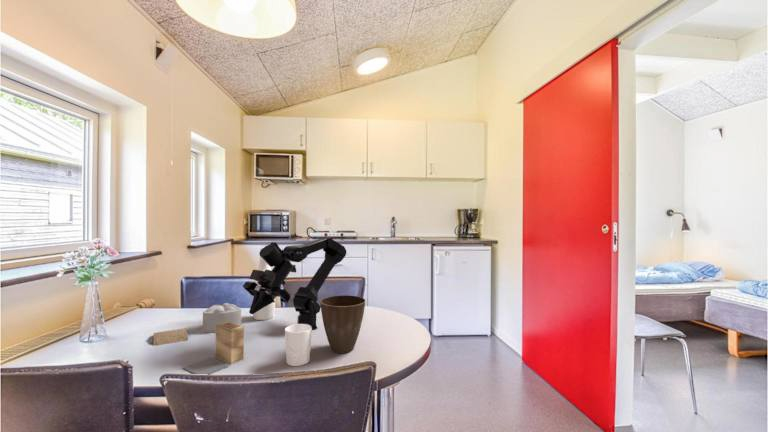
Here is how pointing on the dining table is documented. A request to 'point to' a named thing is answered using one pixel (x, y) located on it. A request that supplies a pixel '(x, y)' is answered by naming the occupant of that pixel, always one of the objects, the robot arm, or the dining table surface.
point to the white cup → (298, 344)
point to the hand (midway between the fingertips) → (250, 313)
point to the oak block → (230, 342)
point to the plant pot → (342, 321)
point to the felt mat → (206, 366)
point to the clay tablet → (170, 336)
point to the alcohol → (268, 310)
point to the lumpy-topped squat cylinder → (220, 316)
